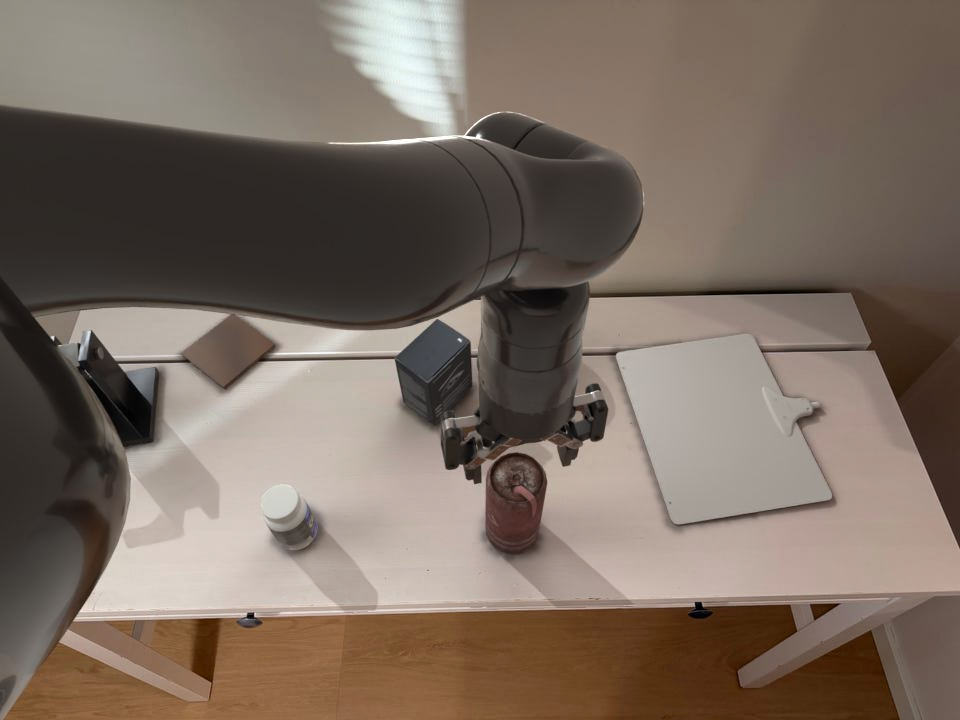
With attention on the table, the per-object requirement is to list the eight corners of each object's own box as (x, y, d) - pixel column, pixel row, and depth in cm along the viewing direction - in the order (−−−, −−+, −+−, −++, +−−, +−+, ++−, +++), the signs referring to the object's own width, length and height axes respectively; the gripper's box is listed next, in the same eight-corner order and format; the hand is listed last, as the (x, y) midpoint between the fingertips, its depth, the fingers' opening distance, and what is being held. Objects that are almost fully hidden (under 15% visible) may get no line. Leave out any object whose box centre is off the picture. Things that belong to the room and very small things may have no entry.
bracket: (153, 442, 83) (102, 380, 72) (78, 455, 82) (14, 395, 71) (159, 371, 89) (112, 305, 78) (89, 383, 88) (32, 317, 77)
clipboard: (864, 496, 78) (868, 491, 77) (671, 527, 77) (674, 523, 76) (777, 331, 93) (780, 326, 92) (613, 355, 91) (614, 350, 90)
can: (512, 568, 74) (517, 520, 62) (474, 527, 76) (473, 473, 65) (551, 534, 76) (562, 480, 65) (513, 495, 79) (518, 437, 67)
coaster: (224, 389, 88) (223, 387, 87) (182, 356, 91) (180, 353, 90) (276, 346, 92) (275, 344, 91) (233, 315, 95) (232, 313, 95)
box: (442, 365, 90) (438, 315, 81) (474, 388, 88) (473, 338, 79) (401, 404, 86) (392, 355, 77) (433, 428, 84) (427, 381, 75)
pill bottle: (325, 536, 76) (309, 506, 69) (287, 559, 74) (267, 531, 68) (307, 504, 78) (290, 472, 71) (270, 525, 77) (249, 495, 70)
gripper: (443, 429, 47) (453, 518, 60) (636, 392, 48) (604, 487, 61) (426, 345, 51) (439, 446, 64) (603, 314, 52) (580, 418, 66)
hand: (520, 466), depth 63 cm, fingers open, 8 cm apart
